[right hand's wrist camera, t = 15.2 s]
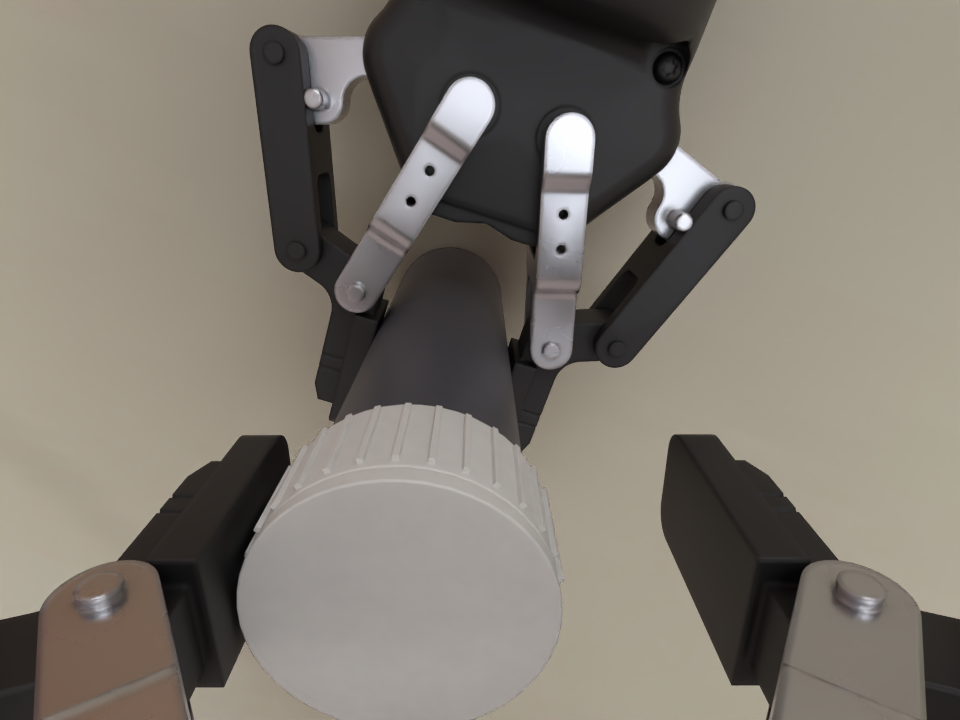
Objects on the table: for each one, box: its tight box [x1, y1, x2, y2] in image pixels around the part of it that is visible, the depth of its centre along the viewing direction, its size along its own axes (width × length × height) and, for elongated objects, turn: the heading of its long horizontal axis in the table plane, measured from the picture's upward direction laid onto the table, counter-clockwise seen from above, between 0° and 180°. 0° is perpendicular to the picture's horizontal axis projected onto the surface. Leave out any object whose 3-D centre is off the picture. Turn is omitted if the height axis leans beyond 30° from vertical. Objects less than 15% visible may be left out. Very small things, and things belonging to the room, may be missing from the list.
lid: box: [237, 403, 564, 720], centre depth 10 cm, size 5×5×2 cm
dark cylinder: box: [333, 248, 521, 450], centre depth 17 cm, size 4×4×16 cm
